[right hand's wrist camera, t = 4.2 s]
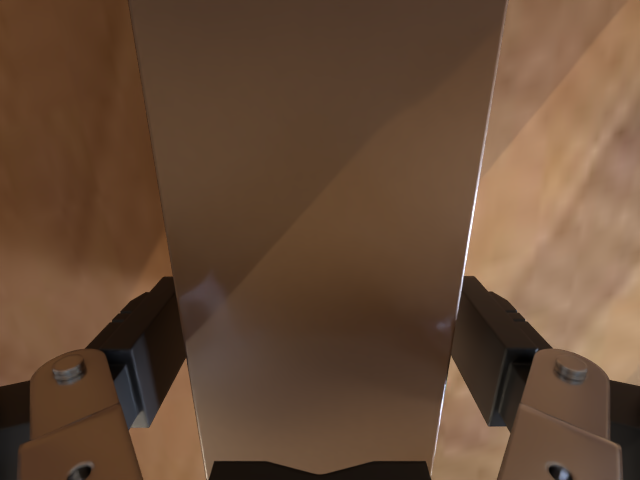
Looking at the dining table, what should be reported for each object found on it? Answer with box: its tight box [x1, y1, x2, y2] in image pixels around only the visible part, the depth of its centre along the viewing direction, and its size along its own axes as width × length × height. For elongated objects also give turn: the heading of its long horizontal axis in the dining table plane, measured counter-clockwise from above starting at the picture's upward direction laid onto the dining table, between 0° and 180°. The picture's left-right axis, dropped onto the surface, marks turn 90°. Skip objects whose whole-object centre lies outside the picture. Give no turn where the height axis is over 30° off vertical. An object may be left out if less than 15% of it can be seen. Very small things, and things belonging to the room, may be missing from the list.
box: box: [128, 0, 508, 480], centre depth 10 cm, size 23×6×9 cm, turn 0°
